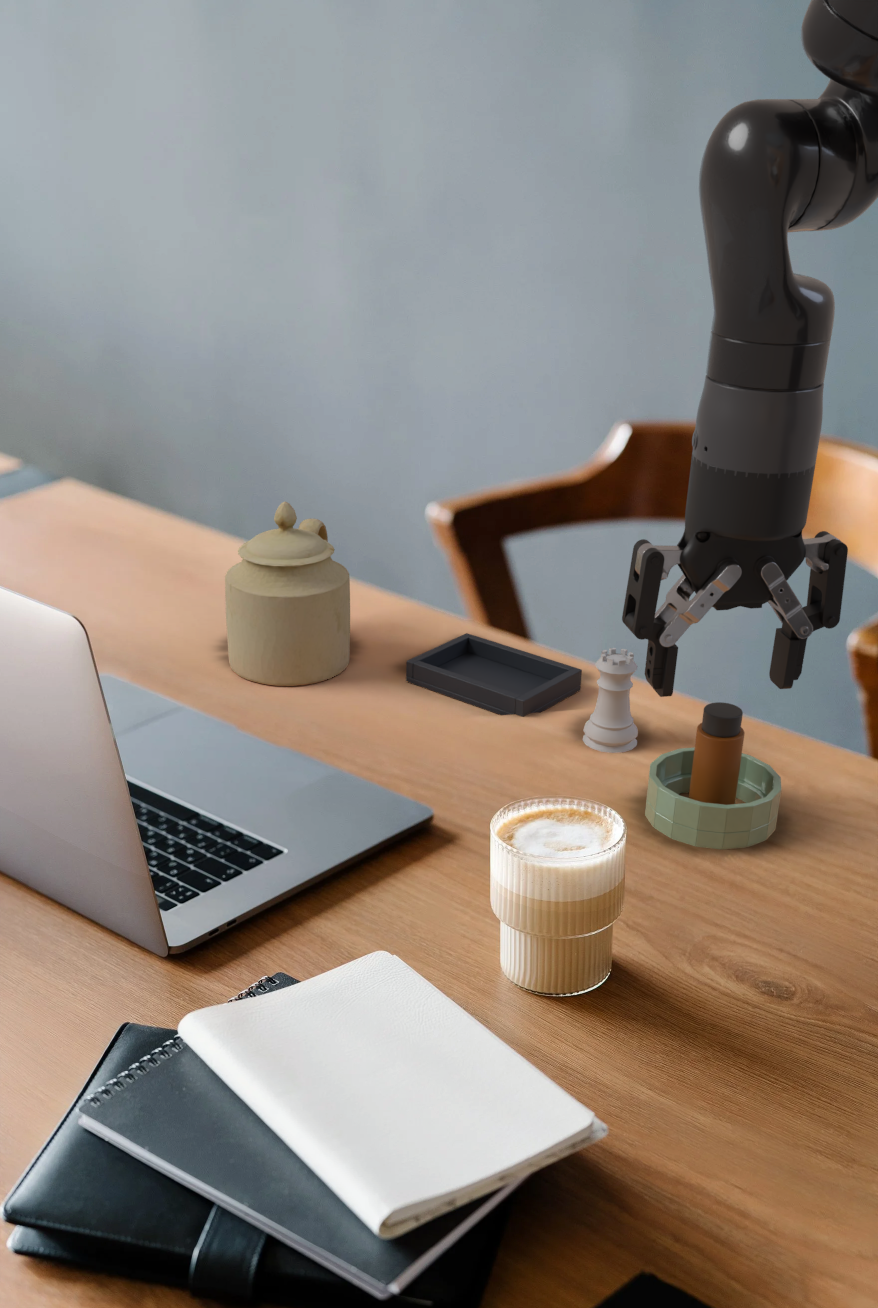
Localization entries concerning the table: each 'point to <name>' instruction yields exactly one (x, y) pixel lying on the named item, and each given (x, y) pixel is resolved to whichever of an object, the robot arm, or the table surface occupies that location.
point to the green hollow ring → (712, 804)
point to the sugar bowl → (288, 606)
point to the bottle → (717, 754)
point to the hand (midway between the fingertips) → (721, 688)
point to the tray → (493, 676)
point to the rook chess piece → (613, 705)
